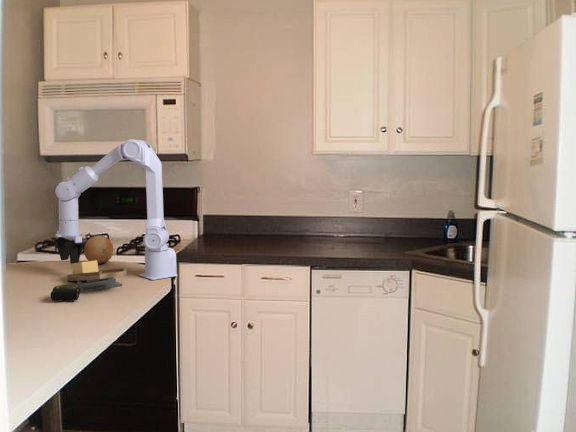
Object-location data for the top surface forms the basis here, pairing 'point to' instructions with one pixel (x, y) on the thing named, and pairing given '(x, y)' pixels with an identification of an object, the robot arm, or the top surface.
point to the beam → (97, 275)
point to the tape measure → (65, 292)
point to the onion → (98, 249)
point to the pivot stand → (97, 284)
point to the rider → (85, 267)
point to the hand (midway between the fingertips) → (69, 261)
